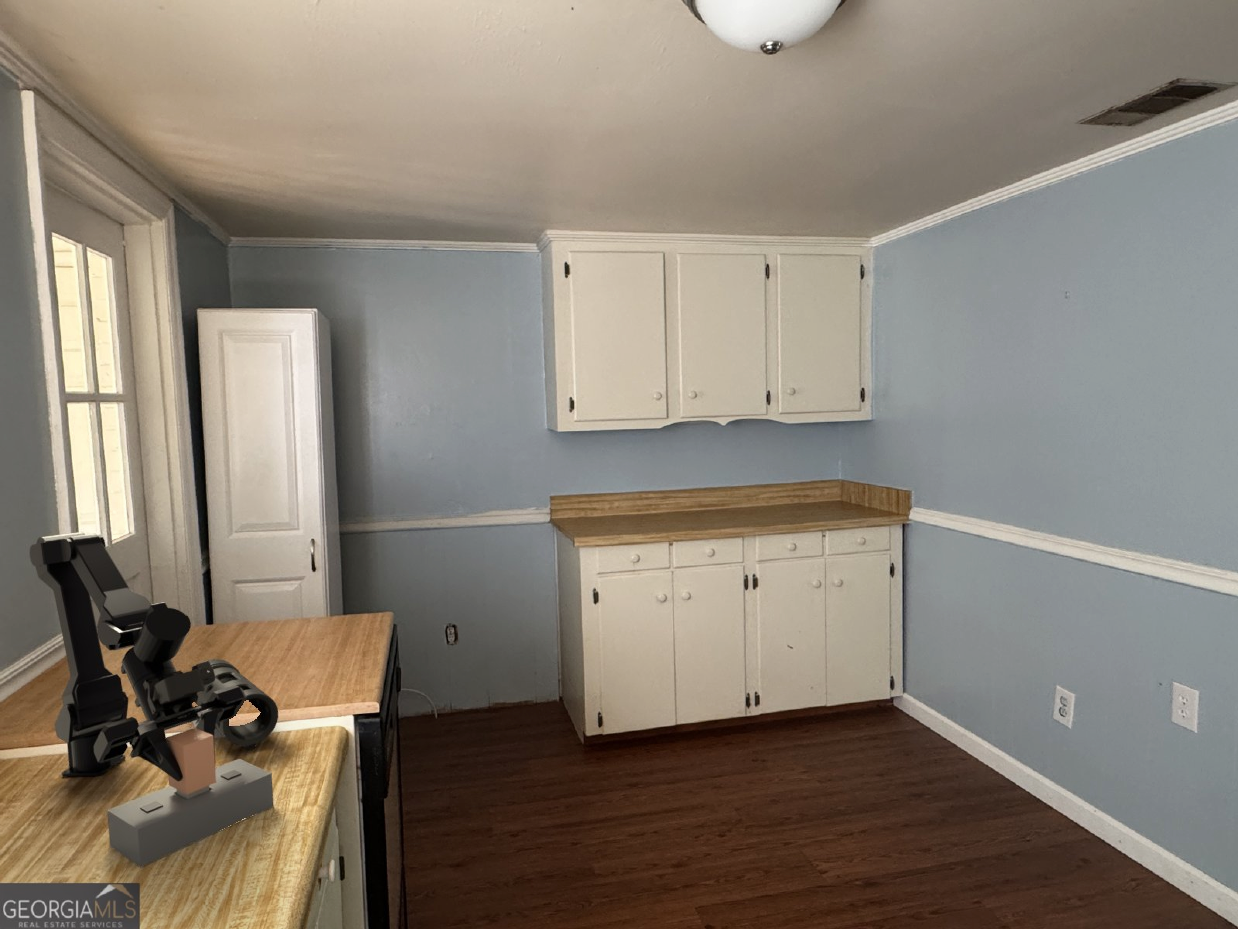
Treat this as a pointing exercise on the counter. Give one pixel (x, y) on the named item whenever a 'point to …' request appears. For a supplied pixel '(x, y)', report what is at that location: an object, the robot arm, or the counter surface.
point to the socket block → (188, 813)
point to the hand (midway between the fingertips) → (197, 773)
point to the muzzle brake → (269, 712)
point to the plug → (193, 762)
